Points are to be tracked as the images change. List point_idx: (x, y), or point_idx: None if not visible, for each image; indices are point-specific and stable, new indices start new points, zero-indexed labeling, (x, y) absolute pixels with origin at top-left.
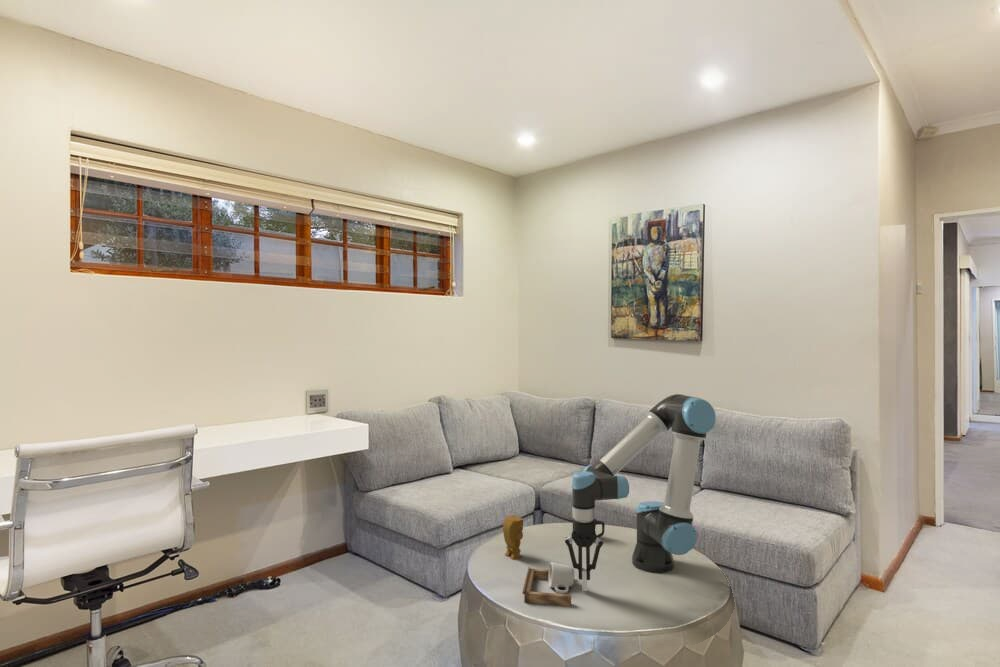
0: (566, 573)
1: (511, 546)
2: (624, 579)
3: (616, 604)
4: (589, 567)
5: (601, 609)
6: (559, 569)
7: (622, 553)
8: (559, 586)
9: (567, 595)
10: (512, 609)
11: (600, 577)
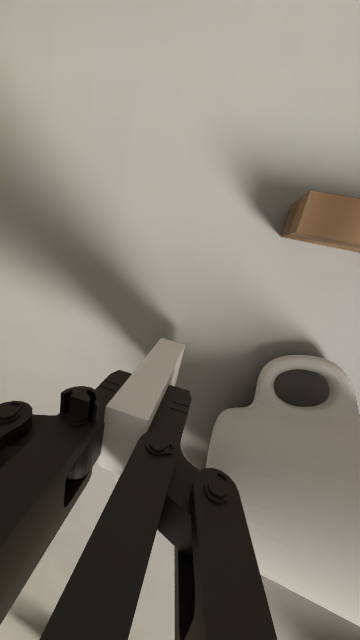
0: (276, 473)
1: None
2: None
3: (41, 221)
4: (47, 429)
5: (118, 162)
6: (350, 528)
7: None
8: (312, 406)
9: (335, 213)
10: None
11: None
